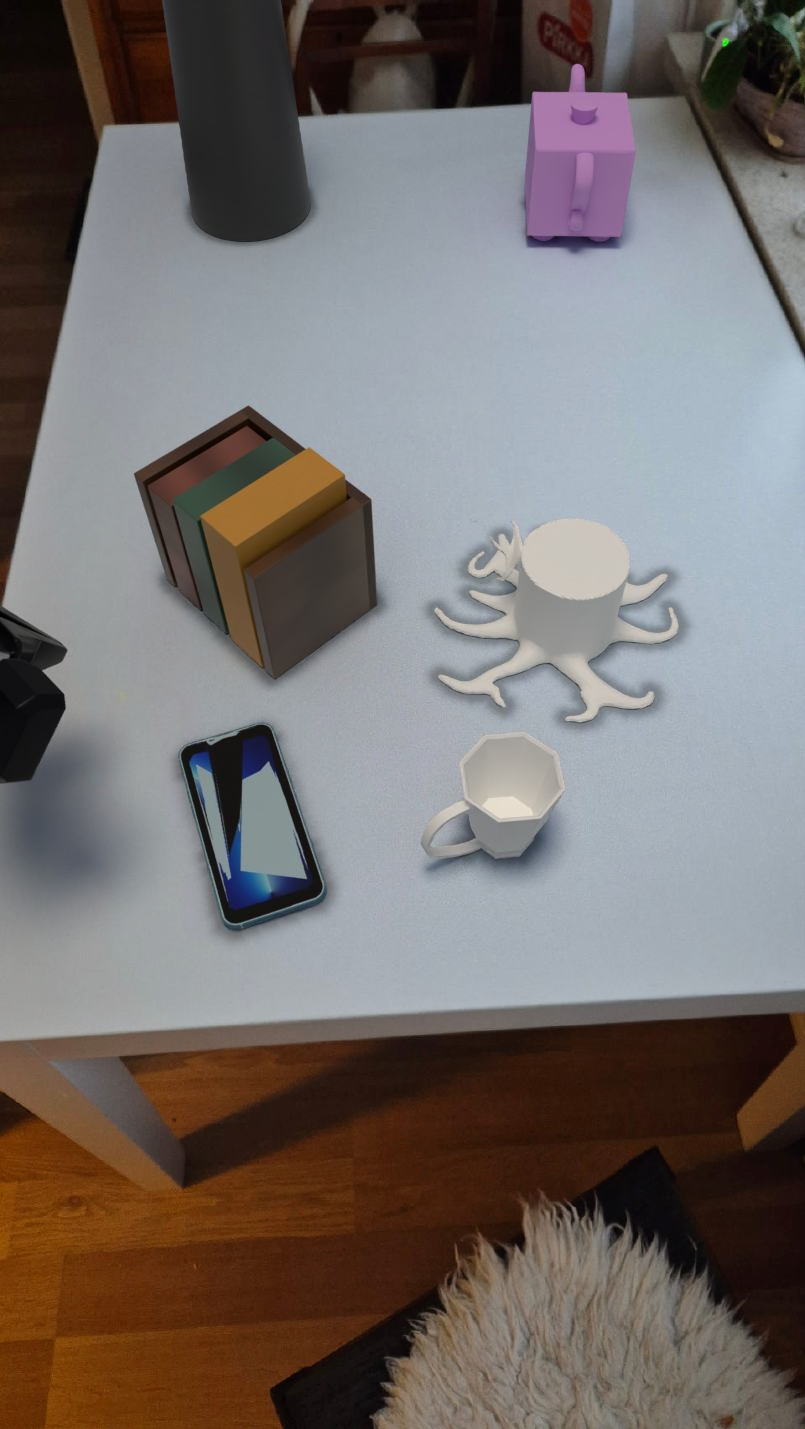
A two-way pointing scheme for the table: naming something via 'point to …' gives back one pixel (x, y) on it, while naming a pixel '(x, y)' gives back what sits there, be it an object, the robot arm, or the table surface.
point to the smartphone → (250, 826)
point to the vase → (237, 117)
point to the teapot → (578, 162)
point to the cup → (502, 796)
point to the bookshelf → (288, 580)
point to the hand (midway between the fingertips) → (62, 652)
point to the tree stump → (561, 608)
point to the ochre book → (265, 530)
